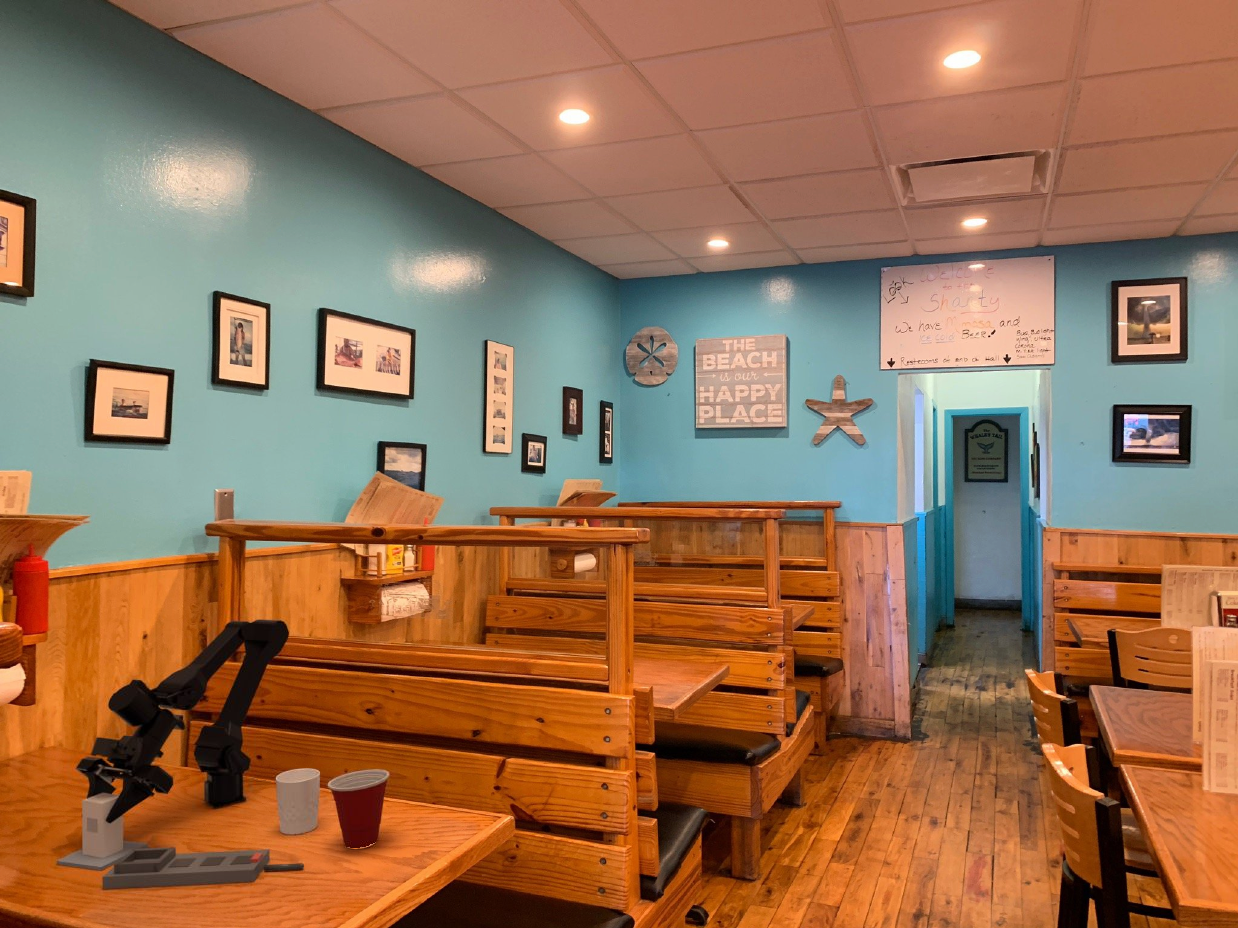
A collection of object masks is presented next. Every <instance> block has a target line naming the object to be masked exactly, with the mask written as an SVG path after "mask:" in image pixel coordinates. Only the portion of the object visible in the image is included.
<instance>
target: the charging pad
mask: <svg viewBox="0 0 1238 928" xmlns="http://www.w3.org/2000/svg"><path fill="white" fill-rule="evenodd" d="M145 848H149V843H145V842H137V841H130V840H123V850H121V851H119V852H116V853H114V854H112V855H109V856H107V857H105V858H98V857H93V856H88V855H83V848H81V849H79V850H77V851H75V852H72V853H70V854H68V855H66V856H63V857H62V858H59V859H58V860H56V861H55V863H56V865H58V866H59V865H60V866H66V867H73V868H74V867H75V868H80V869H87V870H94V871H103V870H106V869H107V868H109V867H112V866H114V864H115V863H117V862H118V861H119V860H120V859H121V858H122V857H124V856H125V855H126V854H127V853H128V852H129V851H131V850H132V849H145Z"/></svg>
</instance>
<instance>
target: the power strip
mask: <svg viewBox="0 0 1238 928" xmlns="http://www.w3.org/2000/svg"><path fill="white" fill-rule="evenodd" d="M176 849H177V848H176V846H171V847H168V846H167V847H166V846H165V847H150V848H149V847H147V848H145V849H132V850H131V851H129V852H128V853H127V854H126V855H125V856H124V857H122V858H121V859H120V860H119V861H118V862H117V863H115V864H114V865H113V867H112V868H111V869H110V870H108V871H107V872H106V874H104V875H103V876H102V878H101V879H102V890H114V889H116V890H117V889H135V888H156V887H174V886H175V887H177V886H195V885H196V886H197V885H198V886H200V885H217V884H218V885H219V884H220V885H221V884H233V883H234V884H237V883H236V882H242V883H254V882H255V881H256V879H257V878H258V877H259V876H260V874H261V873H262V872H263V871H264V872H275V871H276V872H278V871H281V870H282V871H299V870H300V871H301V870H303V869H304V868H305V864H304V863H303V862H297V863H293V862H292V863H279V864H278V863H276V864H269V863H270V861H271V860H270V857H271V855H270V849H252V850H250V849H249V850H231V851H230V850H228V851H208V852H205V851H204V852H184V853H177V850H176ZM261 871H262V872H261ZM260 872H261V873H260ZM259 873H260V874H259ZM257 876H258V877H257ZM254 880H255V881H254Z"/></svg>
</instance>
